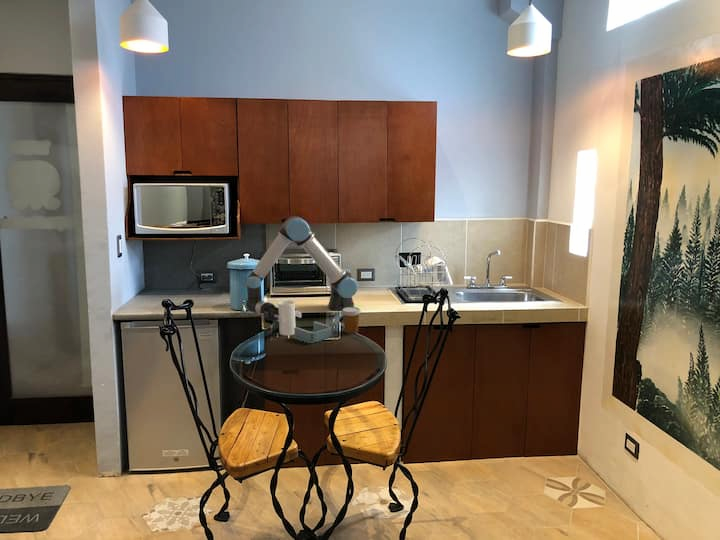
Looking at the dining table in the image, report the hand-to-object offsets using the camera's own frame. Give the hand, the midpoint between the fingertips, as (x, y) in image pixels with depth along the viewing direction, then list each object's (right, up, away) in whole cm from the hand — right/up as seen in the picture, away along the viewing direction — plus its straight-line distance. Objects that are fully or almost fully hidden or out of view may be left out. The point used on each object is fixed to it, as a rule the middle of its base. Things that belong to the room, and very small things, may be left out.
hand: (292, 317), depth 283 cm
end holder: (+11, -10, -2) cm, 15 cm away
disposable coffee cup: (+30, -8, +5) cm, 31 cm away
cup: (-3, -8, +5) cm, 10 cm away
